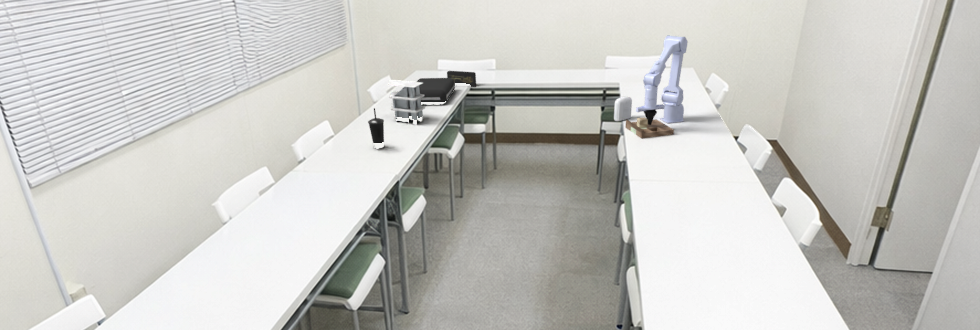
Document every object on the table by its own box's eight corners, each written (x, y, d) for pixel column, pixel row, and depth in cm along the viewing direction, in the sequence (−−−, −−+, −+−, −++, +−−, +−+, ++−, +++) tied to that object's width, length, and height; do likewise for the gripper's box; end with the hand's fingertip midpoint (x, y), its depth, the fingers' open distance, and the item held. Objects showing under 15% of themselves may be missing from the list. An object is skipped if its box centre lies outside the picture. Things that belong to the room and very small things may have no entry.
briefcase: (409, 92, 383) (408, 77, 379) (456, 91, 379) (455, 76, 375) (395, 107, 350) (393, 91, 346) (446, 106, 346) (445, 90, 342)
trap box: (656, 123, 296) (656, 116, 295) (673, 134, 280) (674, 126, 278) (625, 127, 293) (625, 120, 292) (641, 138, 277) (641, 130, 275)
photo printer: (626, 116, 310) (627, 94, 306) (632, 118, 307) (633, 95, 303) (612, 120, 305) (613, 97, 301) (618, 122, 302) (619, 99, 297)
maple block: (644, 125, 288) (645, 117, 286) (647, 127, 284) (647, 119, 282) (636, 125, 287) (637, 117, 286) (639, 128, 284) (639, 120, 282)
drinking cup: (389, 145, 284) (385, 106, 276) (382, 150, 277) (377, 110, 270) (376, 144, 286) (371, 105, 279) (368, 149, 280) (363, 110, 272)
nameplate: (447, 85, 395) (446, 71, 391) (449, 84, 396) (448, 70, 392) (475, 87, 386) (474, 72, 382) (476, 86, 388) (475, 72, 384)
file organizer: (422, 130, 304) (418, 91, 296) (367, 125, 317) (362, 87, 309) (444, 117, 326) (441, 79, 318) (392, 112, 339) (388, 76, 331)
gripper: (659, 94, 285) (658, 120, 290) (633, 97, 282) (632, 123, 287) (667, 97, 279) (665, 124, 284) (640, 100, 276) (639, 127, 281)
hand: (649, 124), depth 285 cm, fingers closed
